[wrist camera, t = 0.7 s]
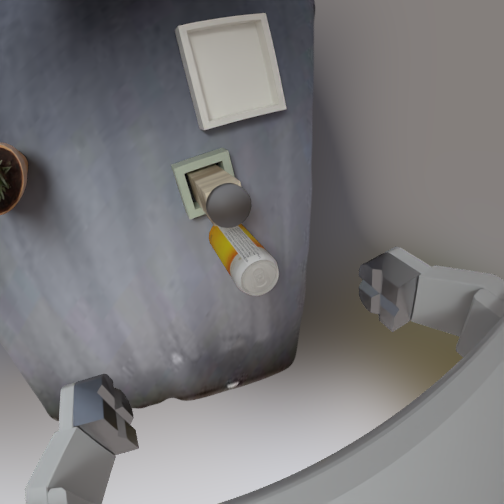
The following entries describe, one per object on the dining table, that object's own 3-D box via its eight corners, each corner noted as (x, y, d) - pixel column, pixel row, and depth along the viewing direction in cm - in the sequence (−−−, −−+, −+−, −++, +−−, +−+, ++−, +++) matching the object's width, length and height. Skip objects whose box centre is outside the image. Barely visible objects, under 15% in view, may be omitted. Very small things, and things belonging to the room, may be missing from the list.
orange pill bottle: (214, 255, 53) (246, 305, 40) (202, 225, 49) (232, 271, 37) (246, 240, 54) (285, 285, 41) (236, 210, 50) (276, 250, 38)
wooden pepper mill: (183, 170, 44) (203, 194, 33) (215, 159, 45) (246, 179, 34) (192, 201, 47) (215, 234, 36) (223, 190, 48) (255, 218, 37)
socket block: (170, 164, 43) (173, 168, 40) (222, 147, 45) (228, 150, 42) (186, 212, 47) (190, 219, 45) (234, 195, 49) (240, 200, 47)
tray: (174, 30, 33) (177, 25, 31) (257, 17, 36) (265, 13, 34) (199, 128, 42) (204, 130, 39) (277, 108, 45) (286, 109, 42)
